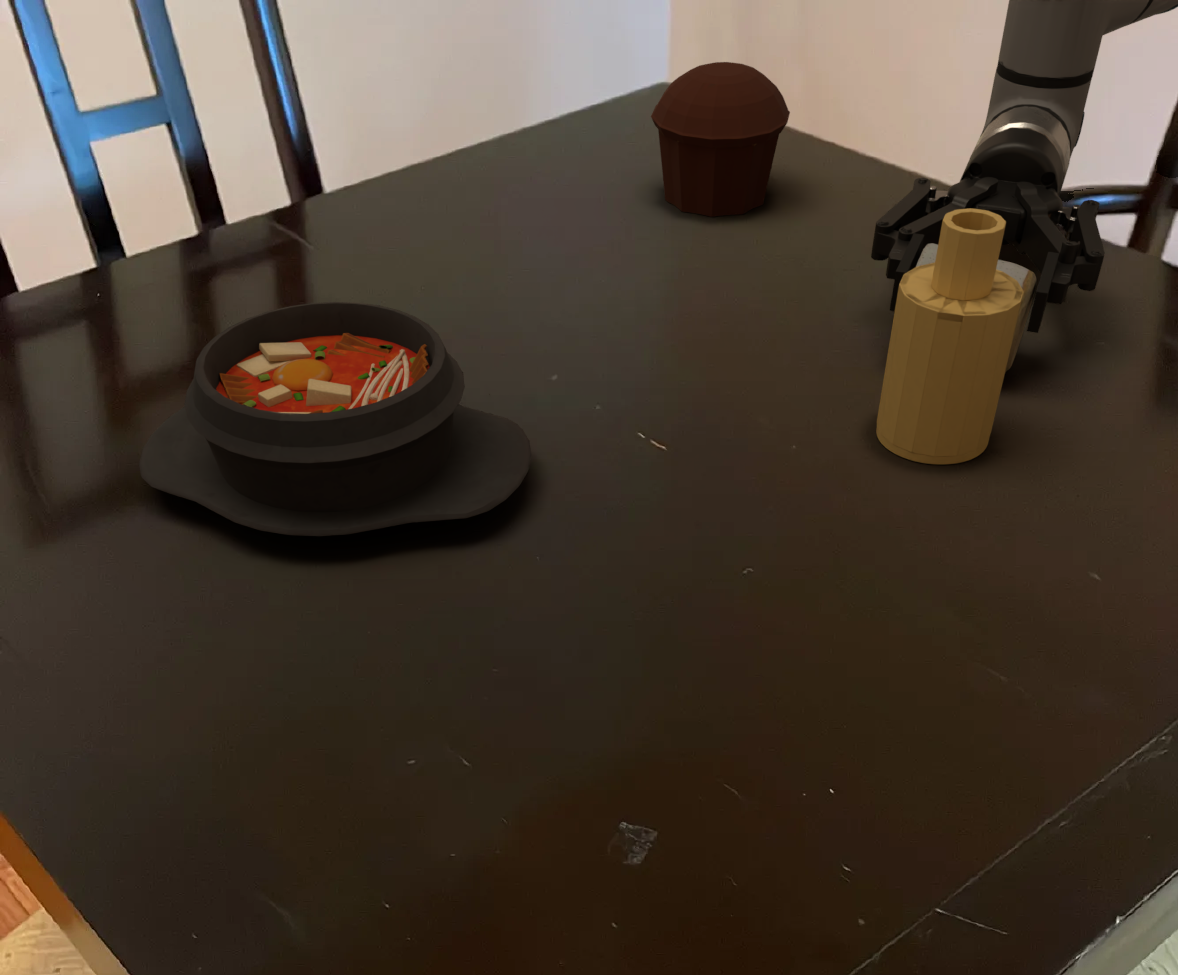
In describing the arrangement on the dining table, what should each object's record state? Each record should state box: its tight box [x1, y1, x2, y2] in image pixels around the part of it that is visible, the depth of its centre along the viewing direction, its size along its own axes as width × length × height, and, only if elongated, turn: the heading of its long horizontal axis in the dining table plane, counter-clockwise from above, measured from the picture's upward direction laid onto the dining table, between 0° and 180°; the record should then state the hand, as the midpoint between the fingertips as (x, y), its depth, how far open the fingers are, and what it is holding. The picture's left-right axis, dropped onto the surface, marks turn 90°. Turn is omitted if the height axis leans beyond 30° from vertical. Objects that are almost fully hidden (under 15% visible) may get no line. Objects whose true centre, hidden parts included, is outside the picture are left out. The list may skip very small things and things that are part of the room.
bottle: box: [875, 208, 1024, 465], centre depth 84 cm, size 7×7×14 cm
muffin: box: [650, 61, 791, 218], centre depth 114 cm, size 12×11×10 cm
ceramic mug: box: [916, 243, 1038, 373], centre depth 95 cm, size 11×8×8 cm
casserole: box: [138, 301, 532, 537], centre depth 83 cm, size 25×19×8 cm
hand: (966, 302), depth 90 cm, fingers open, 9 cm apart
